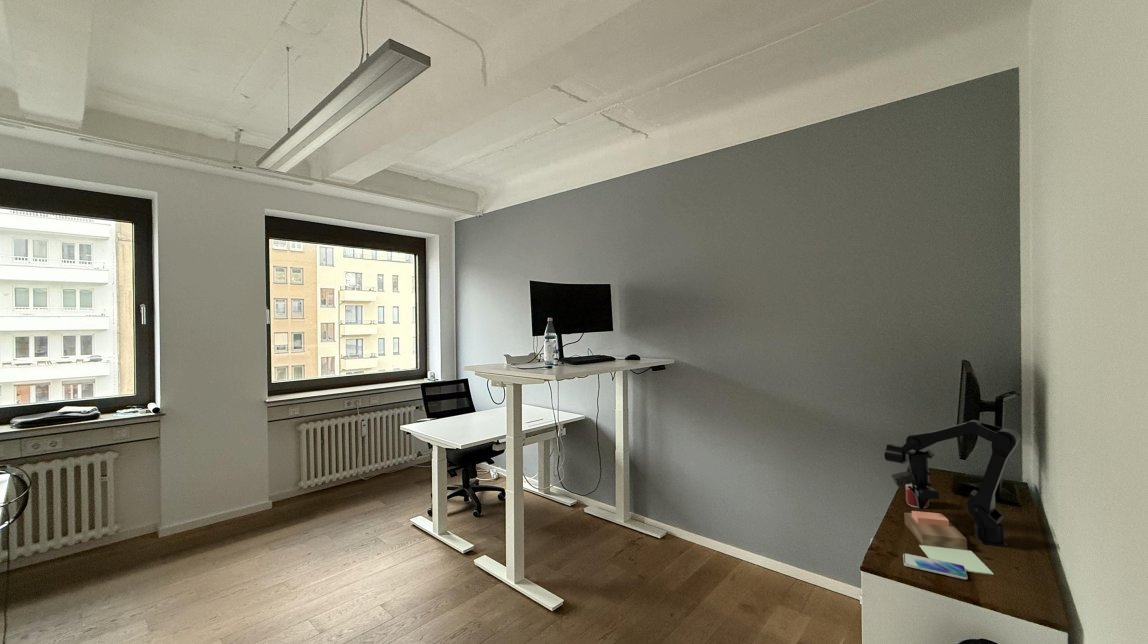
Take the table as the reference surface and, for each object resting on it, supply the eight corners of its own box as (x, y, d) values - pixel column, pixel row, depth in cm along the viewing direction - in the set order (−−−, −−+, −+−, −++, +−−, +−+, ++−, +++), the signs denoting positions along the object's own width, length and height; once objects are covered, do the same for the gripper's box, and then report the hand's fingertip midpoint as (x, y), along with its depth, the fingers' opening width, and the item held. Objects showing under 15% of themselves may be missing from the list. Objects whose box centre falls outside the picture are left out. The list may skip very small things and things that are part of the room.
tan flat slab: (944, 527, 162) (943, 516, 162) (967, 551, 145) (966, 539, 145) (904, 523, 166) (904, 512, 166) (922, 546, 150) (922, 534, 150)
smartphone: (903, 552, 144) (964, 565, 135) (903, 555, 144) (964, 568, 135) (903, 563, 138) (968, 578, 129) (903, 566, 138) (968, 580, 129)
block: (942, 519, 160) (941, 513, 160) (949, 526, 154) (948, 520, 154) (911, 516, 163) (911, 510, 163) (917, 523, 157) (917, 517, 157)
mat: (971, 551, 145) (971, 550, 145) (993, 574, 132) (993, 573, 132) (919, 545, 150) (919, 544, 150) (936, 567, 137) (936, 566, 137)
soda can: (931, 505, 180) (930, 476, 181) (924, 510, 176) (923, 480, 176) (910, 500, 186) (909, 471, 187) (903, 504, 182) (902, 475, 182)
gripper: (886, 458, 179) (887, 497, 178) (901, 473, 161) (903, 516, 161) (919, 460, 175) (921, 500, 174) (939, 476, 157) (941, 520, 157)
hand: (920, 508), depth 167 cm, fingers closed
